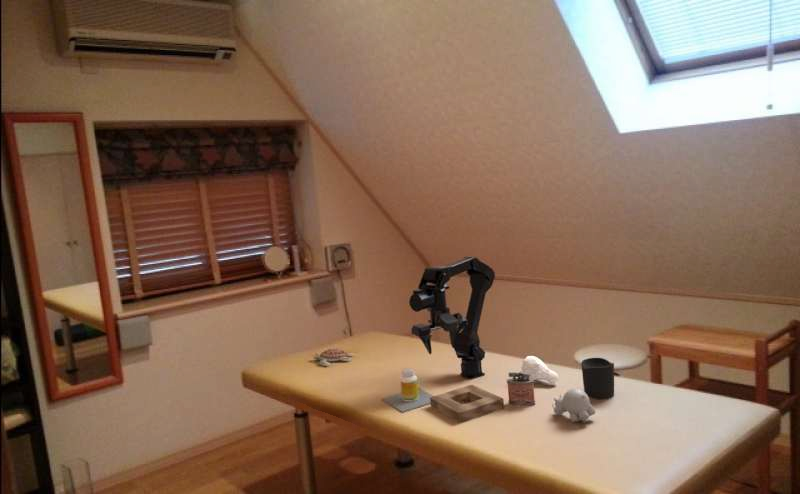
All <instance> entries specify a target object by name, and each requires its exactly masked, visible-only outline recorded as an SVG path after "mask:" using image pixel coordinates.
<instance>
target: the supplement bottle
mask: <svg viewBox="0 0 800 494" xmlns="http://www.w3.org/2000/svg"><path fill="white" fill-rule="evenodd" d="M401 375H402V376H401V377H400V389H401V393H402V399H403V400H404V401H406V402H413V401H416V400H418V399H419V391H418V388H419V381H418V377H417V375H415V369H414V368H412V367H405V368H403V369H402V370H401Z"/></svg>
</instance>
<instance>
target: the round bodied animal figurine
mask: <svg viewBox="0 0 800 494" xmlns="http://www.w3.org/2000/svg"><path fill="white" fill-rule="evenodd" d="M553 400H554V403H552V409H553V413H554V414H555V415H556V416H562V415H564V413H568V414H569V419H570V421H571V423H577V422H580V421H586V420H588V419H589V418H590V416H593V415H594V416H595V414H596V409H595V407H594V406H593V405H592V404H591V403H590V402H591V401H590V397H588V395H587V394H586V393H585V392H584V390H582V389H580V388H570V389H569V390H567V391H566V392H565V393H564V395H563V396H562V394H560V395H559V398H557V397H554V398H553Z"/></svg>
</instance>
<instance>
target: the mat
mask: <svg viewBox="0 0 800 494" xmlns="http://www.w3.org/2000/svg"><path fill="white" fill-rule="evenodd" d="M418 391H419V399H418V400H416V401H413V402H406V401H404V400H403V399H402V392H400V393H396V394H393V395H390V396H386V397H382V398H381V400H382V401H383V402H384V403H386V404H388V405H389V406H391V407H393V408H394V409H395V410H398V411H399V412H401V413H402V414H403V413H406V412H410V411H412V410H416V409H419V408H421V407H424V406H429V405H431V403H430V397H433V396H434V395H433V394H432V393H429V392H427V391H426V390H424V389H421V388H420V387H418Z"/></svg>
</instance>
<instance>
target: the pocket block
mask: <svg viewBox="0 0 800 494" xmlns="http://www.w3.org/2000/svg"><path fill="white" fill-rule="evenodd" d="M466 402H467V403H466ZM504 402H505V401H504V398H503V397H501V396H499V395H496V394H494V393H492V392H489V391H487V390H486V389H483V388H481V387H479V386H476V385H474V384H469V385H466V386H463V387H460V388H457V389H453V390H450V391H446V392H443V393H440V394H436V395H433V397H430V403H431V404H430V407H431V408H432V409H433V410H436V411H437V412H439V413H441V414H442V415H445V416H447V417H448V418H450V419H452V420H454V421H456V422H457V423H459V424H461V423H465V422H467V421H471V420H473V419H474V420H475V419H476V418H480V417H482V416H485V415H488V414H491V413H494V412H497V411H499V410H502V409H504V408H505V403H504ZM463 403H465V404H463Z"/></svg>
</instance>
